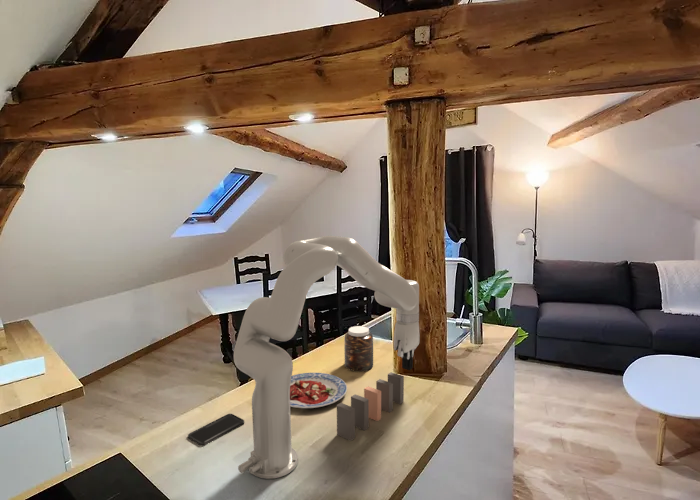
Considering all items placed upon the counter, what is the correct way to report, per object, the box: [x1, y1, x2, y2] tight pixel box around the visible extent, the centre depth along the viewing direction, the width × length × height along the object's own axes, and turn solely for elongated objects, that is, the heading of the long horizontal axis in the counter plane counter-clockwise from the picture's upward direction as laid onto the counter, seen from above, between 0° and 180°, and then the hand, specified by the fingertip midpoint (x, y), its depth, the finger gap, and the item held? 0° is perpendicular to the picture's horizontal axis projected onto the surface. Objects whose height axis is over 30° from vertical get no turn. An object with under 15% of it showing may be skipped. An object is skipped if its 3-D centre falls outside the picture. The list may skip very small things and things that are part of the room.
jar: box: [343, 325, 374, 373], centre depth 169 cm, size 12×12×15 cm
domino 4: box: [387, 372, 405, 405], centre depth 142 cm, size 2×5×9 cm, turn 51°
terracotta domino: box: [363, 385, 382, 422], centre depth 131 cm, size 2×5×9 cm, turn 51°
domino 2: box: [350, 393, 370, 431], centre depth 127 cm, size 2×5×9 cm, turn 51°
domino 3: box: [375, 378, 394, 413], centre depth 137 cm, size 2×5×9 cm, turn 51°
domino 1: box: [336, 402, 356, 442], centre depth 122 cm, size 2×5×9 cm, turn 51°
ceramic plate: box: [290, 372, 348, 409], centre depth 147 cm, size 26×26×3 cm
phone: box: [187, 413, 245, 447], centre depth 126 cm, size 8×1×15 cm
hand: (407, 368), depth 146 cm, fingers closed
